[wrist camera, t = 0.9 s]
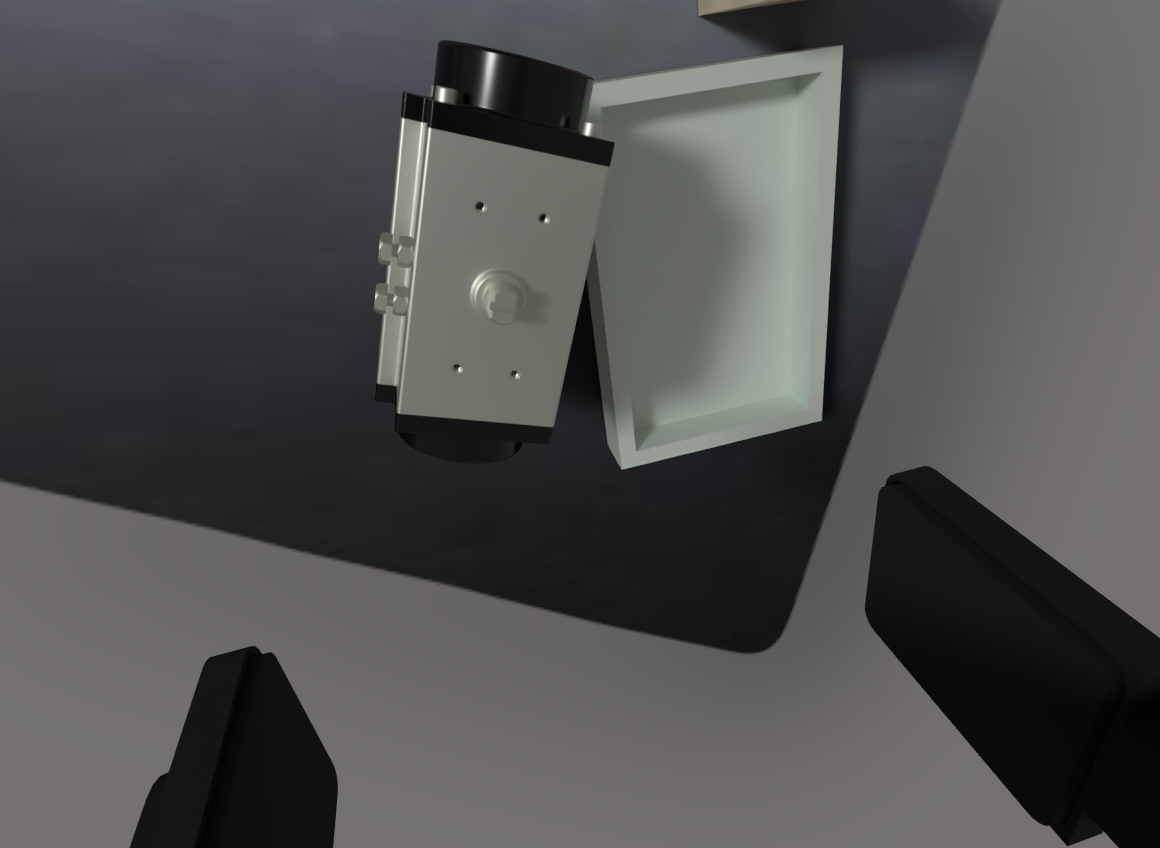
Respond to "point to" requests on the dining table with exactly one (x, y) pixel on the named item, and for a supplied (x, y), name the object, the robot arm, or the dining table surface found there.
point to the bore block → (735, 5)
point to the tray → (714, 250)
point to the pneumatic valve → (487, 251)
